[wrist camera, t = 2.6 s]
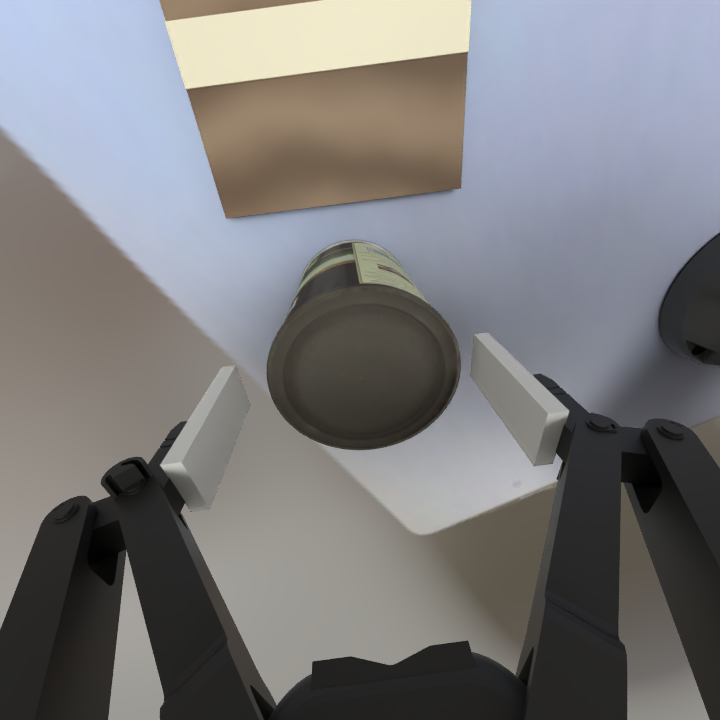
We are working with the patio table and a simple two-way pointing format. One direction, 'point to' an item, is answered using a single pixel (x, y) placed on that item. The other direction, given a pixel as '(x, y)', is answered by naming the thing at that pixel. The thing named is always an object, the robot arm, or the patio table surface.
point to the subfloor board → (329, 129)
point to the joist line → (315, 38)
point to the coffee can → (361, 352)
